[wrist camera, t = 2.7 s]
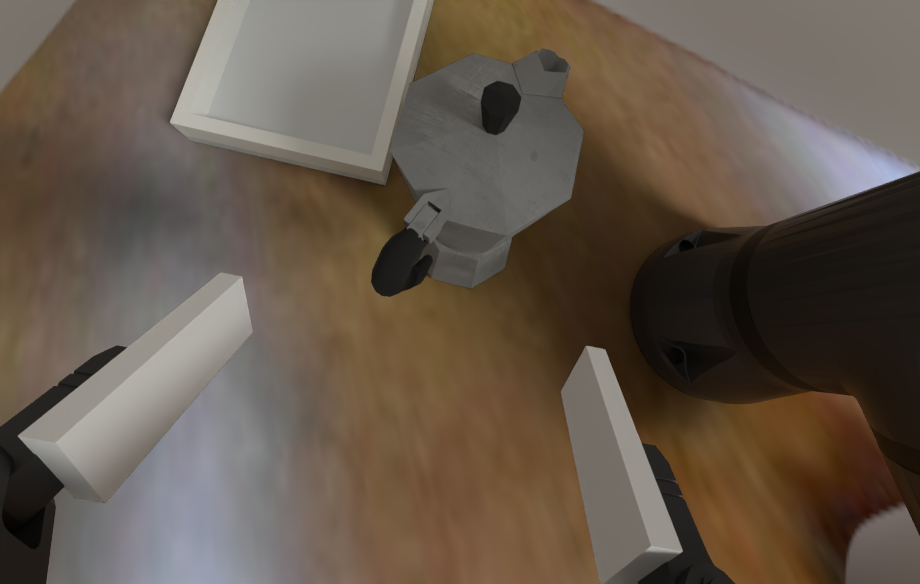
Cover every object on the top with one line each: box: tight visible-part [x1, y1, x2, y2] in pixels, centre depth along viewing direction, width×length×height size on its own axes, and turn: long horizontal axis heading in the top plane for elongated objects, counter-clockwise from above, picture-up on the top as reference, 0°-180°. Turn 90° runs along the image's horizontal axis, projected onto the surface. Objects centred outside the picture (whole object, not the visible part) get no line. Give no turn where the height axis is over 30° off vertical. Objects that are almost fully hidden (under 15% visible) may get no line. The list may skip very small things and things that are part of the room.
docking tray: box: [170, 0, 434, 185], centre depth 32 cm, size 17×25×2 cm
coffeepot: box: [371, 49, 584, 297], centre depth 22 cm, size 15×9×18 cm, turn 144°
